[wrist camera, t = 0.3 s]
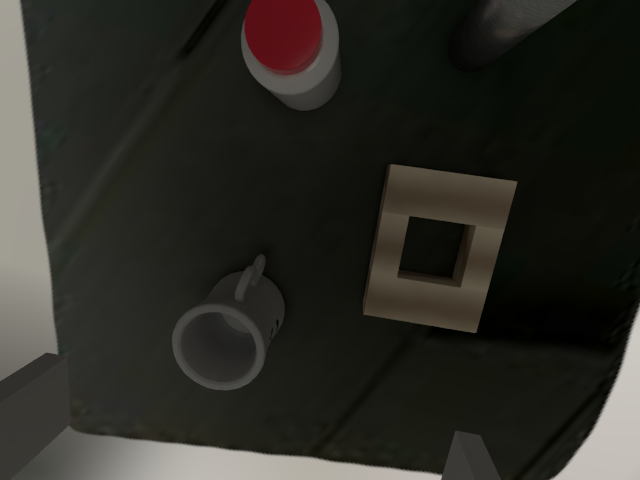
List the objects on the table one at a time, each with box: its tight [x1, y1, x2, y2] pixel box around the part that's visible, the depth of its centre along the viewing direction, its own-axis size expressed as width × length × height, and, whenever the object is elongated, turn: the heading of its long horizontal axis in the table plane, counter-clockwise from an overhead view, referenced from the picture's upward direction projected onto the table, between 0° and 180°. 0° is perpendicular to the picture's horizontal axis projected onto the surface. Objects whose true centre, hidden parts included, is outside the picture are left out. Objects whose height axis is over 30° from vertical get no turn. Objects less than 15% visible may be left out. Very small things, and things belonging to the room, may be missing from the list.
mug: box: [172, 254, 285, 390], centre depth 35 cm, size 12×9×10 cm
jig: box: [363, 164, 517, 333], centre depth 35 cm, size 16×12×3 cm
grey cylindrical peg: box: [448, 0, 577, 72], centre depth 25 cm, size 5×5×14 cm
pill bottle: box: [241, 0, 342, 111], centre depth 28 cm, size 8×8×11 cm
